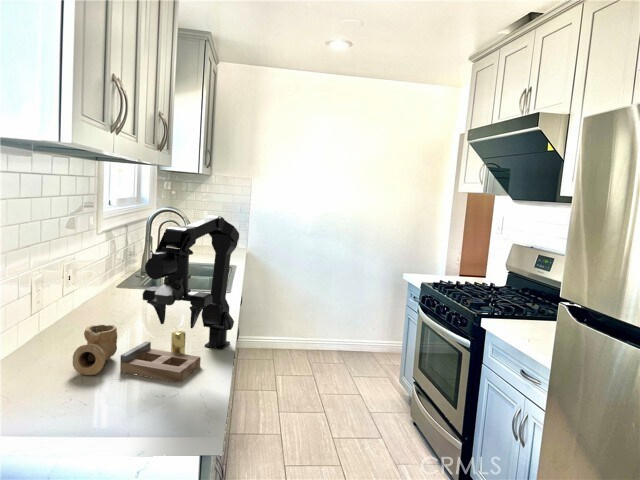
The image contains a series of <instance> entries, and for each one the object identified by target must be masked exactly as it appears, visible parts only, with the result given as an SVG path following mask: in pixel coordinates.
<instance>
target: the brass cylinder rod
mask: <svg viewBox="0 0 640 480" xmlns="http://www.w3.org/2000/svg"><path fill="white" fill-rule="evenodd" d="M170 341H171V343H170V344H171V345H170V346H171V348H170V352H174V353H181V354H186V331H183V330H175V331H172V332H171V340H170Z"/></svg>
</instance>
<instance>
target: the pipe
mask: <svg viewBox="0 0 640 480" xmlns="http://www.w3.org/2000/svg"><path fill="white" fill-rule="evenodd" d="M117 330H118V329H117V326H115V325H111V324H110V325H105V324H92V325H89V326H86V328H85V330H84V333H83V335H84V340H86V341H87V342H86V343H87V344H83V345H80V346H78V347H77V348H76V349H75V350H74V353H73V355H72V367H73V369H74V370H75V371H76V373H79V374H80V375H85V376H94V375H97V374H99V373H100V372H101V371H102V369H104V365H105V363H106V362H107V361H108V360H110V359H111V358H112V357H113V356H115V353H117V349H118V346H117V345H118V342H117V341H118V331H117Z"/></svg>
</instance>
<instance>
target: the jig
mask: <svg viewBox="0 0 640 480" xmlns="http://www.w3.org/2000/svg"><path fill="white" fill-rule="evenodd" d="M151 346H152V345H151V341H147V340H145V341H144V342H142V343H140V344H138V345H137V346H135V347H133V348H131V349H129V350H128V351H125V352H124V353H122V354H120V362H119V363H120V365H119V367H120V370H119V371H120V372H125V373H124V374H126V373H130V374H129V375H132V374H137V375H142V376H141V377H143V376H147V377H146V378H148V377H152V378H151V379H154V378H156V379H155V380H160V379H162V380H161V381H165V380H168V381H167V382H171V381H173V382H172V383H176V382H180V383H181V382H183V379H184V380H186V378H187V376H188V377H189V376H190V375H191V374H193V373H194V372H195V371H197V370H198V369H199V368H201V360H202V359H201V356H199V355H192V354H186V353H185V354H181V353H174V352H171V351H169V350H163V349H162V350H161V349H155V348H152V347H151ZM137 375H136V376H137Z"/></svg>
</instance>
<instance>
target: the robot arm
mask: <svg viewBox="0 0 640 480" xmlns="http://www.w3.org/2000/svg"><path fill="white" fill-rule="evenodd" d="M206 235H209V236H210V237H211V245H212V248H213V250H214V253H215V254H214V261H213V262H214V263H213V271H212V278H211V279H212V280H211V285H210V292H204V291H198V292H196V293H194V294H189V293H191V288H189V279H191V278H192V275H191V274H189V273H190V271H189V270H190V269H189V267H190V256H191V255H193V254H194V251H193V250H191V249H190V248H192V247H193V246H194V245H196V241H197V239H199V238H201V237H204V236H206ZM239 240H240V232H239V231H238V229H237V228H236V227H235V226H234V225H233V224H231V223H229V221H227V220H225V218H224V217H223V216H221V215H213V214H212V215H211V214H209V215H207V216H205V217H203V218H202V219H199V220H197V221H194V222H192V223H189V224H186V225H174V226H168V227H167V228H165V231H164V232H163V234H162V236H161V239H160V241H159V244H158V245H157V248H156V249H155V252H152V254H151V258H149V259H148V260H147V261H146V263H145V265H144V271H145V273H146V275H147V276H148V277H149V278H150V279H152V280H160V279H163V278H164V279H163V284H162V285H160V286H156V285H153V286H151V287H148V288H147V289H144V290H143V293H142V300H143V301H146V303H147V304H150V306H152V307H153V308H154V310H155V312H156V314H157V317H158V320H159V323H160V325H164V324H165V321H166V320H165V319H166V311H167V309H166V308H167V306H172V305H174V304H175V302H176V301H178V302H180V301H182V302H183V301H184V302H189V303H190V305H191V306H190V307H189V310H190V322H189V323H190V324H189V325H190V329H193V328H194V327H195V325H196V323H197V321H198V318H199V316H200V315H201V319H202V324H203V325H202V326H203V328H209V331H208V332H209V333H208V342H207V343H205V344H204V347H206V348H210V349H211V348H212V349H219V350H224V349H225V348H226V347H227V346H229V345H230V344H231V341H228V340H227V339H228V338H227V336H228V331H231V330H232V329H233V327H234V324H235V320H234V319H233V317H232V316H231V314H230V306H229V303H228V300H227V298H226V297H227V290H228V289H227V286H228V281H229V280H228V279H229V272H230V265H231V264H230V263H231V255H232V254H233V252H234V251H235V250H236V248H237V247H238V242H239Z"/></svg>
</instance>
